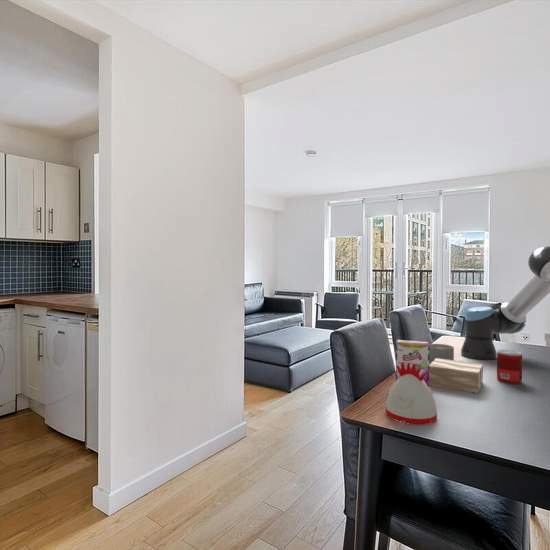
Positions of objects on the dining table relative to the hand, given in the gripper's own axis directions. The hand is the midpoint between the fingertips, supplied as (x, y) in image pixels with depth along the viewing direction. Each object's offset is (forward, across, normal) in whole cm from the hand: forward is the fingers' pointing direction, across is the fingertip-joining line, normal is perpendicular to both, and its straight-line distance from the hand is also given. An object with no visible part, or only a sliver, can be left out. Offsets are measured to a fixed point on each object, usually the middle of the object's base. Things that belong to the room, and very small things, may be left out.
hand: (545, 339), depth 133 cm
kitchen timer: (+33, -54, -17) cm, 65 cm away
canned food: (+11, 0, -17) cm, 20 cm away
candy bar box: (+39, -29, -17) cm, 51 cm away
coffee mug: (+37, +1, -17) cm, 40 cm away
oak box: (+27, -15, -17) cm, 35 cm away
